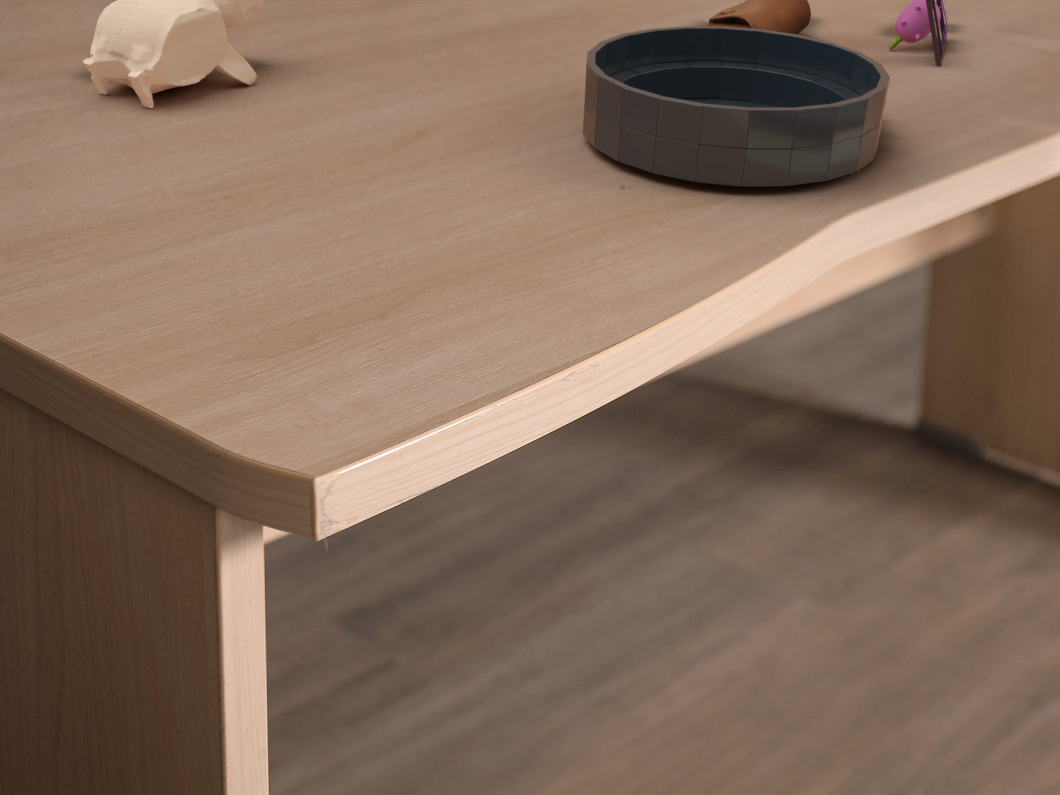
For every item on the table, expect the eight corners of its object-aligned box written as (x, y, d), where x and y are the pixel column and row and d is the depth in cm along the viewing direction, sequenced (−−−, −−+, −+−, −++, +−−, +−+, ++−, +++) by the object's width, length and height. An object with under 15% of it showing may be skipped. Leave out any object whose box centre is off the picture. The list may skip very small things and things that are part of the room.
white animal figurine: (181, 148, 91) (309, 35, 98) (132, 49, 84) (272, -64, 91) (105, 124, 95) (233, 17, 102) (53, 28, 88) (193, -79, 95)
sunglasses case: (718, 17, 115) (762, -43, 111) (777, 64, 115) (823, 6, 111) (661, 65, 100) (708, -2, 96) (728, 119, 100) (778, 54, 96)
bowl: (936, 156, 85) (952, 76, 82) (728, 220, 74) (739, 131, 71) (725, 83, 98) (733, 13, 95) (523, 128, 87) (525, 51, 84)
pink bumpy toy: (937, -17, 101) (944, -37, 109) (873, -1, 104) (884, -22, 111) (950, 63, 104) (955, 38, 111) (887, 76, 106) (897, 51, 113)
